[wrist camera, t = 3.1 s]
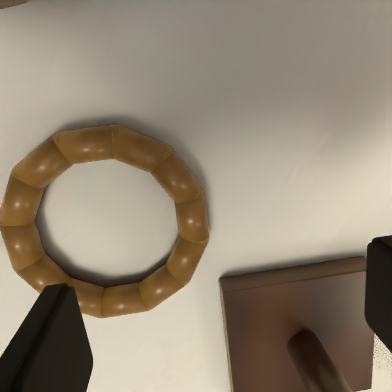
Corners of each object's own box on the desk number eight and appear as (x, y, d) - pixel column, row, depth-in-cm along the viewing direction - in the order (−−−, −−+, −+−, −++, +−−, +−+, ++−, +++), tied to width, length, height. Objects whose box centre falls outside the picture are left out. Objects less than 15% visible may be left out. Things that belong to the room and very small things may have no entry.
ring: (38, 317, 20) (28, 336, 18) (-18, 140, 16) (-36, 145, 15) (214, 289, 20) (218, 305, 19) (193, 112, 17) (196, 115, 15)
